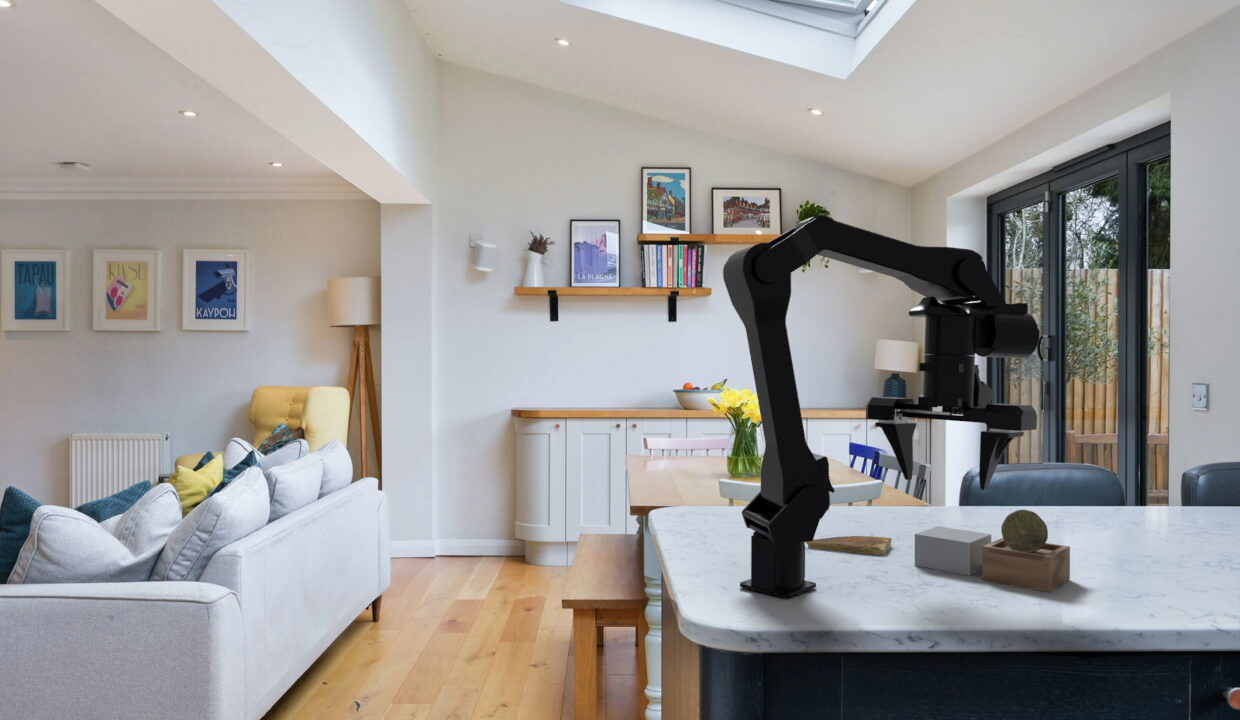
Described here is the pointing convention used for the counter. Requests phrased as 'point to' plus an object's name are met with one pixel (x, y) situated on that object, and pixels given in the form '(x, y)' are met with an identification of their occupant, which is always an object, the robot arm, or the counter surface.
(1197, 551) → the counter surface
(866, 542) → the shard
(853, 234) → the robot arm
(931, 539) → the grey stone block
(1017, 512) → the lime
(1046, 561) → the brown hollow rimmed box
